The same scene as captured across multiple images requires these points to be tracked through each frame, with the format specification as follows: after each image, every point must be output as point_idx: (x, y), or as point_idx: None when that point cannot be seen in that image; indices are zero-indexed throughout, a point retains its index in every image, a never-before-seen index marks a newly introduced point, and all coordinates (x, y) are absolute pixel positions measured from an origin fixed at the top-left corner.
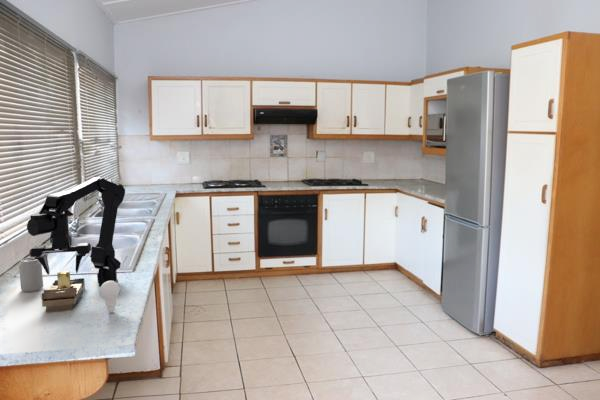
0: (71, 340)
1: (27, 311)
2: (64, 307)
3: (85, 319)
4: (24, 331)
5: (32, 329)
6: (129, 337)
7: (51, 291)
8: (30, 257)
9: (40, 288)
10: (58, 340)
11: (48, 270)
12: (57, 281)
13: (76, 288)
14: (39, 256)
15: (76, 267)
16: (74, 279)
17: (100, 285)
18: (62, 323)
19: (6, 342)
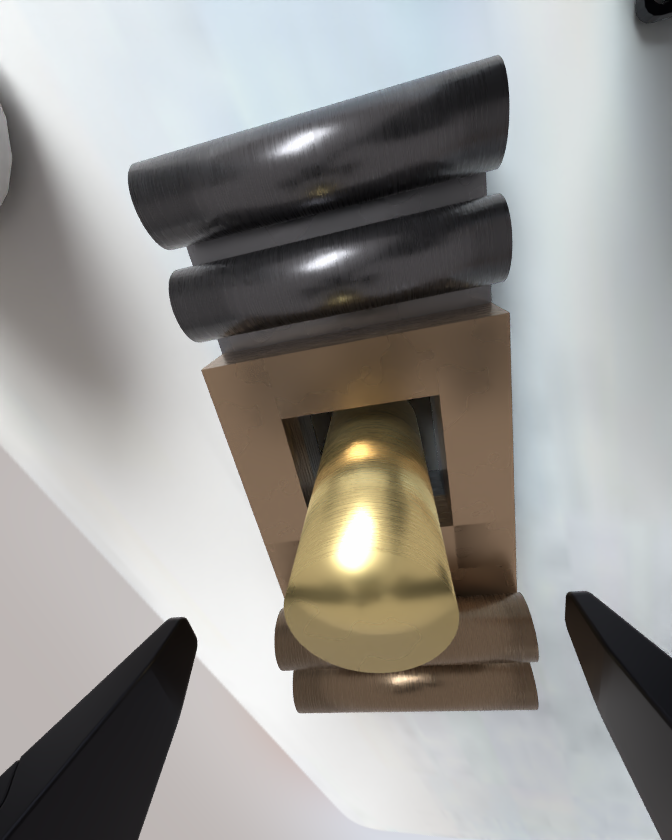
0: (544, 813)
1: (226, 576)
2: None
3: (574, 694)
4: (338, 740)
5: (361, 732)
6: None
7: (341, 668)
8: None
9: (9, 147)
10: (496, 806)
11: (170, 707)
12: (179, 224)
13: (533, 630)
14: None
15: (639, 761)
16: (376, 156)
17: (668, 13)
18: None
19: (320, 786)
